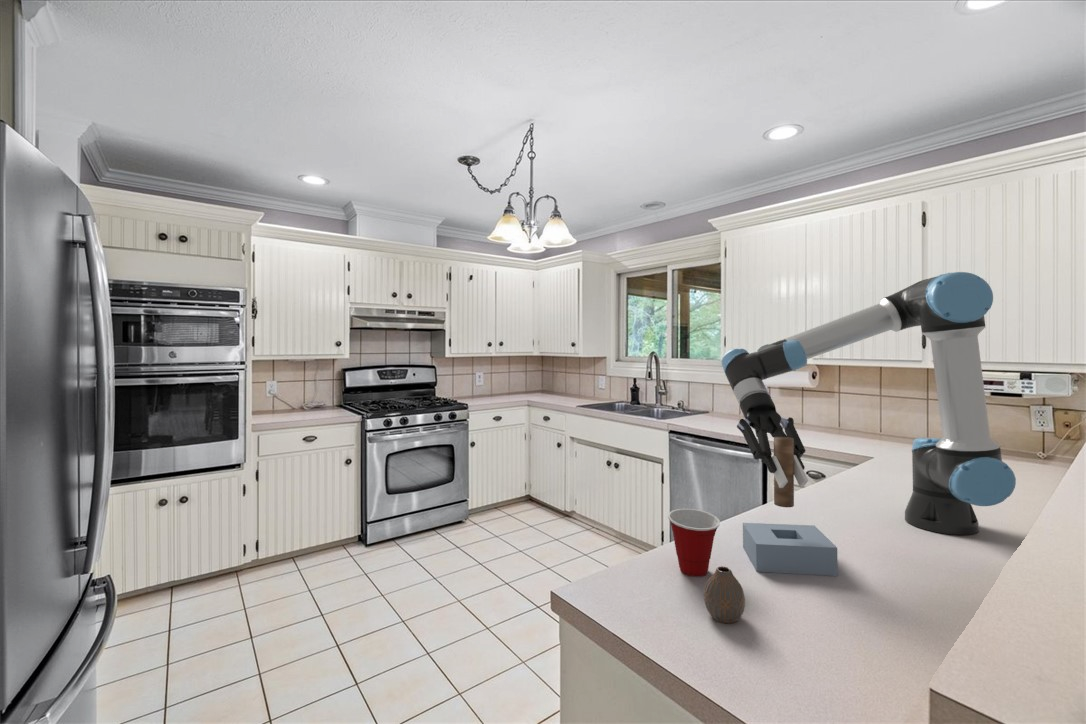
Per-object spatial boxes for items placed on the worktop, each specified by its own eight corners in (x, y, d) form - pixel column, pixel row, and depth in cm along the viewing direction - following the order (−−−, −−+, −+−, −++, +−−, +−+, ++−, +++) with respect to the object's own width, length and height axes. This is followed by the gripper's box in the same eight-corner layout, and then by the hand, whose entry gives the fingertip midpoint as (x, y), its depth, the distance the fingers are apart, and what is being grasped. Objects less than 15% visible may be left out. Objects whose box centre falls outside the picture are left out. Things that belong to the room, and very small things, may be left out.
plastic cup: (699, 588, 98) (699, 529, 98) (658, 569, 107) (657, 515, 107) (731, 573, 105) (730, 517, 104) (690, 556, 114) (689, 505, 113)
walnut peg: (790, 502, 112) (790, 436, 111) (796, 507, 108) (796, 440, 107) (771, 501, 112) (771, 436, 112) (777, 507, 108) (776, 439, 108)
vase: (749, 630, 84) (748, 579, 84) (706, 626, 85) (706, 576, 85) (741, 608, 90) (740, 562, 90) (702, 605, 92) (701, 559, 92)
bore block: (814, 550, 115) (814, 525, 115) (837, 576, 102) (837, 547, 102) (742, 547, 118) (742, 522, 118) (756, 571, 105) (756, 543, 105)
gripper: (780, 408, 125) (823, 491, 109) (716, 410, 124) (750, 494, 108) (793, 389, 120) (839, 473, 104) (726, 391, 119) (762, 477, 103)
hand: (793, 484), depth 106 cm, fingers closed on walnut peg, 4 cm apart
